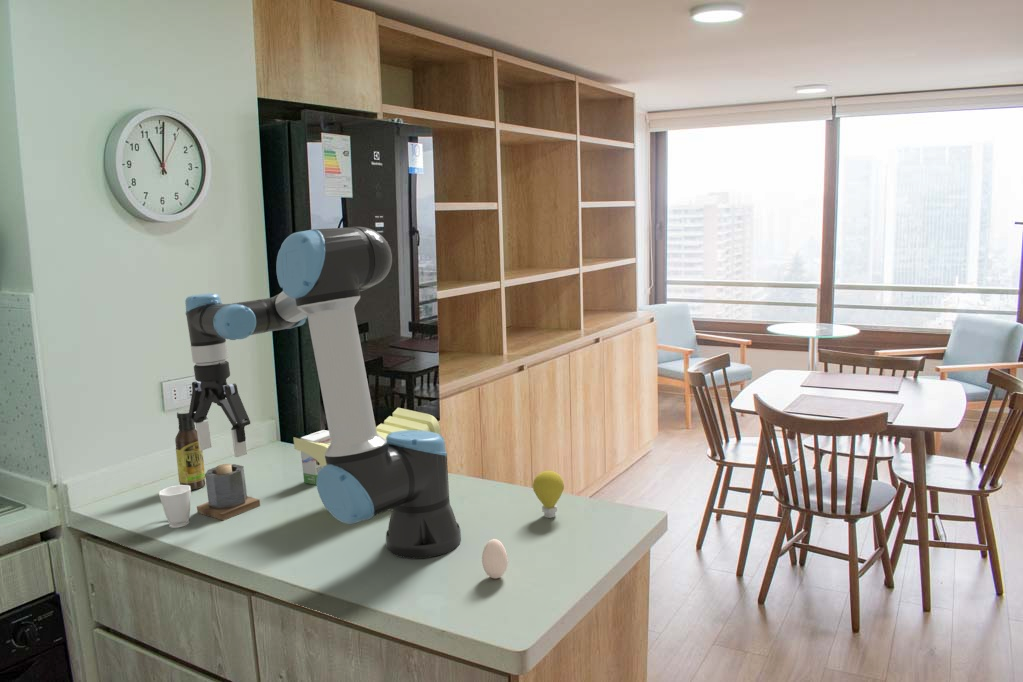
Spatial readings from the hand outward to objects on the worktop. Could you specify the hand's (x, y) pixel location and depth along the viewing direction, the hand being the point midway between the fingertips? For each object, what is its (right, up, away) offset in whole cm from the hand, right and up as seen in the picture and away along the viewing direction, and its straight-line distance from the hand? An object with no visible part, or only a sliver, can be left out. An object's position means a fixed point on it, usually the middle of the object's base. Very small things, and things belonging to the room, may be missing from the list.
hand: (222, 452), depth 185 cm
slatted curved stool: (+35, -12, +4) cm, 37 cm away
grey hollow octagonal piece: (0, -12, +2) cm, 12 cm away
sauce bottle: (-15, -12, +19) cm, 27 cm away
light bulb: (+75, -12, -12) cm, 77 cm away
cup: (-9, -16, -4) cm, 18 cm away
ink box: (+18, -10, +20) cm, 29 cm away
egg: (+64, -18, -39) cm, 77 cm away
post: (0, -14, +3) cm, 14 cm away
